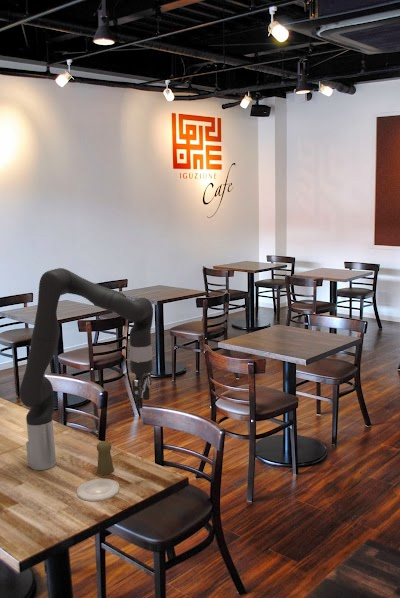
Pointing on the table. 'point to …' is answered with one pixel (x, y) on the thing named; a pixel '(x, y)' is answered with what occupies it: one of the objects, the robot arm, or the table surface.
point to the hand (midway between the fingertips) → (143, 403)
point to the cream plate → (98, 490)
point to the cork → (104, 458)
